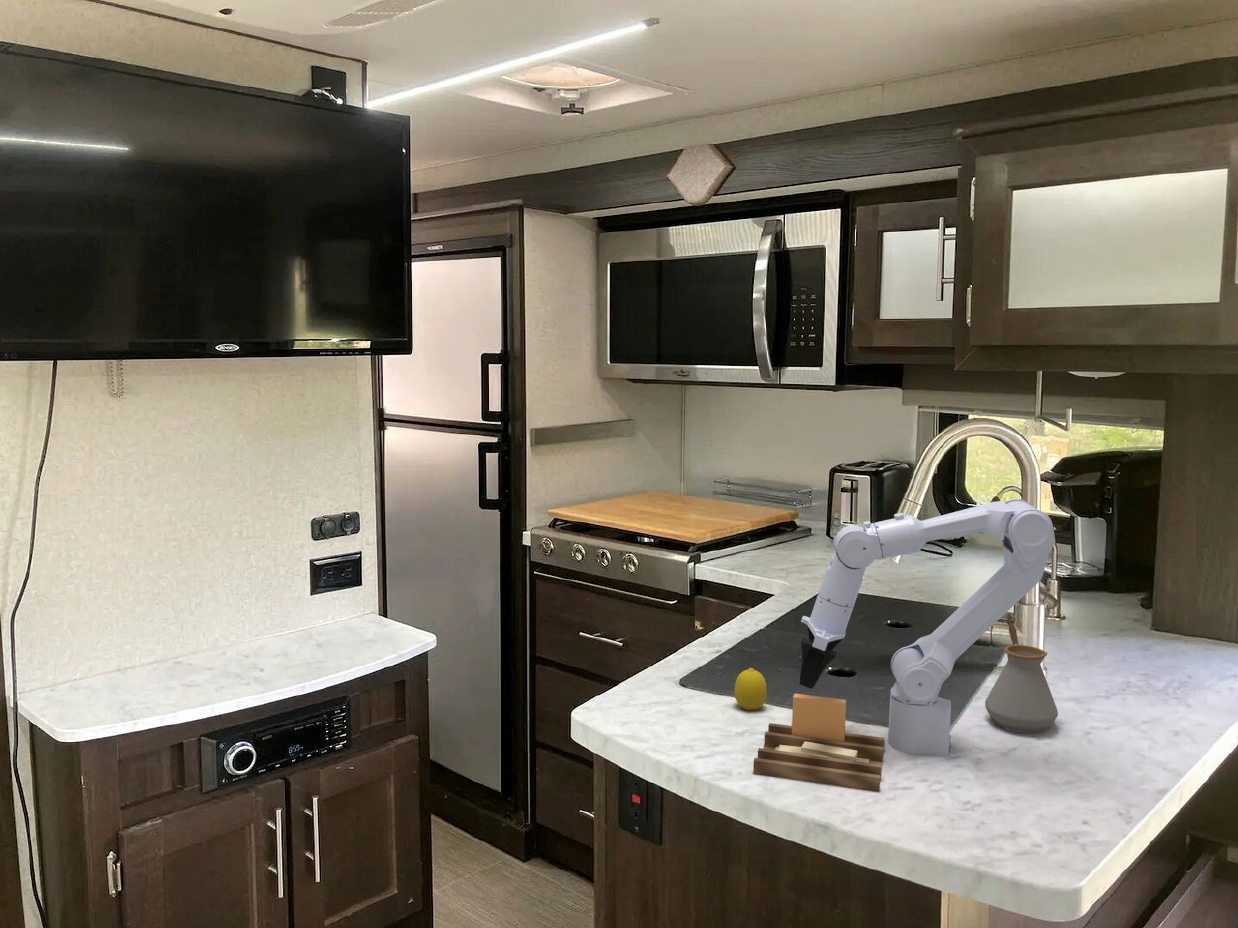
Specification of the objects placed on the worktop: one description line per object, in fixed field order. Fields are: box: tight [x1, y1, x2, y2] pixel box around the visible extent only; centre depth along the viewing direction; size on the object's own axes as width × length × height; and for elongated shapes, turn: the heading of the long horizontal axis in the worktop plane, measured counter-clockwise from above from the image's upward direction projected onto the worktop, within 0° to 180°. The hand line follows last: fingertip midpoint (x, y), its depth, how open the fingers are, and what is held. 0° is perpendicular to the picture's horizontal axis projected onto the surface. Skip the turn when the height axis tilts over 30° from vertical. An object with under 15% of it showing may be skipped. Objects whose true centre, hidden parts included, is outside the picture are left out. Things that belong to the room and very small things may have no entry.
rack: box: [752, 722, 886, 793], centre depth 150 cm, size 18×16×3 cm
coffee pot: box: [984, 612, 1059, 734], centre depth 171 cm, size 21×12×15 cm, turn 168°
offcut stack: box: [775, 742, 869, 763], centre depth 149 cm, size 14×4×2 cm, turn 72°
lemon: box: [734, 667, 768, 711], centre depth 170 cm, size 6×6×8 cm
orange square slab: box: [791, 693, 847, 742], centre depth 154 cm, size 8×2×8 cm, turn 72°
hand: (808, 678), depth 157 cm, fingers open, 7 cm apart
